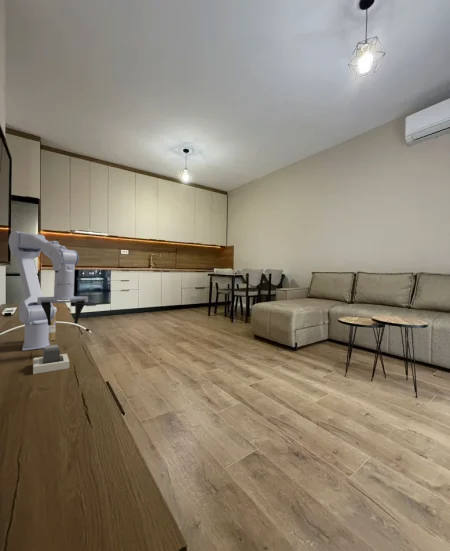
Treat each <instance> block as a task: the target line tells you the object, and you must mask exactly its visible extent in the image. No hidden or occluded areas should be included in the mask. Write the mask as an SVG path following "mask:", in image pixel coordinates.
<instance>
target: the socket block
mask: <svg viewBox="0 0 450 551" xmlns="http://www.w3.org/2000/svg"><path fill="white" fill-rule="evenodd" d="M32 364H33V365H32V374H33V375H36V374H37V375H38V374H42V373H48V372H55V371H61V370H67V369H70V359H69V356H68V353H62V354H61V353H60V362H54V363H47V364H43V356H41V357H34V358H33V363H32Z"/></svg>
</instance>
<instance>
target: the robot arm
mask: <svg viewBox="0 0 450 551" xmlns="http://www.w3.org/2000/svg"><path fill="white" fill-rule="evenodd" d="M59 243H60V242H59V241H57V240H51V241H50V240H47V239H46V236H45V235H43V234H41V233H39V234H38V233H29V232H23V231H18V230H13V231H11V233H10V234H9V237H8V245H9V250H10V253H11V255H12V256H13V257H14V258H15V259H16V264H17V268H18V272H19V276H20V279H21V284H22V288H23V291H24V292H23V294H24V296H25V299H23V300H22V301H21V302H20V303H19V304H18V320H19V321H20V322H21V323H22V324H24V339H23V340H24V342H23V343H22V349H21V350H22V351H30V350H31V351H32V350H37V349H38V350H39V349H43V348H45V346H49V345H51V343H50V341H49V325H51V320H52V319H53V318H54V316H55V308H54V307H55V306H54V304H57V303H58V304H62V303H63V304H65V303H74V306H75V307H74V308H75V309H74V319H73V320H74V324H78V321H79V317H80V314H81V312H82V310H83V308H84V307H85V303H89V297H88V296H84V295H83V296H80V295H79V296H78V295H77V296H75V295H74V294H75V271H76V270H75V268H76V266H77V265H78V264H79V260H80V256H79V252H77V251H76V249H68V248H66V247H67V246H65V245H61V244H59ZM41 252H42V253H43V255H44V256H46V257H48V258H49V259H50V260H51V264H52V270H53V271H54V285H53V286H54V287H53V296H44V295H43V292H42V288H41V285H40V281H39V277H38V273H37V269H36V266H35V262H34V259H36V258H38V257H39V256H40V255H41Z"/></svg>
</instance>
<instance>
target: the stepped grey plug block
mask: <svg viewBox="0 0 450 551" xmlns="http://www.w3.org/2000/svg"><path fill="white" fill-rule="evenodd" d="M42 349H43V350H42V357H43V364H47V363H54V362H60V354H61V349H60V346H59V345H58V344H50V345H49V346H45V348H42Z"/></svg>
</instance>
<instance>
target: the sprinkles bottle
mask: <svg viewBox="0 0 450 551" xmlns="http://www.w3.org/2000/svg"><path fill="white" fill-rule="evenodd" d="M54 308H55V316H54V318H53V319H52V320H51V325H49V342H53V341H55V340H56V331H57V329H56V328H57V326H56V325H57V320H56V319H57V311H58V309H57V307H56V306H54ZM52 340H53V341H52Z"/></svg>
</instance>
